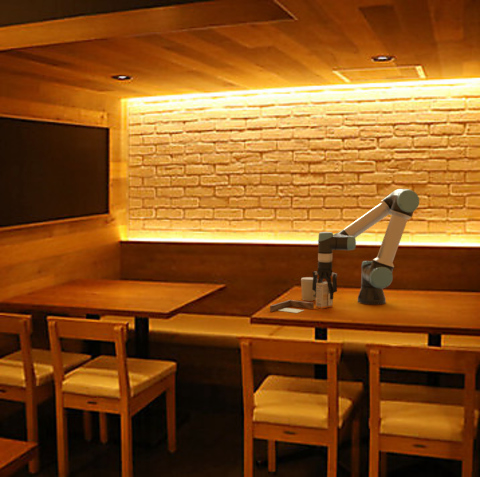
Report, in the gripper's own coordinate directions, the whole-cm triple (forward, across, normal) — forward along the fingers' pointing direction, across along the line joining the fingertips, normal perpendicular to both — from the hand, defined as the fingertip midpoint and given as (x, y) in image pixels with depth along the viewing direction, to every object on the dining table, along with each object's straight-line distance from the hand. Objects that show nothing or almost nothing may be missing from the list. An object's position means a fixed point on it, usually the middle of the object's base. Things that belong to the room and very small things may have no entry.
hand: (324, 304), depth 362 cm
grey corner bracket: (+1, +10, +17) cm, 20 cm away
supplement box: (+2, 0, 0) cm, 2 cm away
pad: (+1, +10, +19) cm, 21 cm away
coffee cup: (+2, +17, -15) cm, 23 cm away
